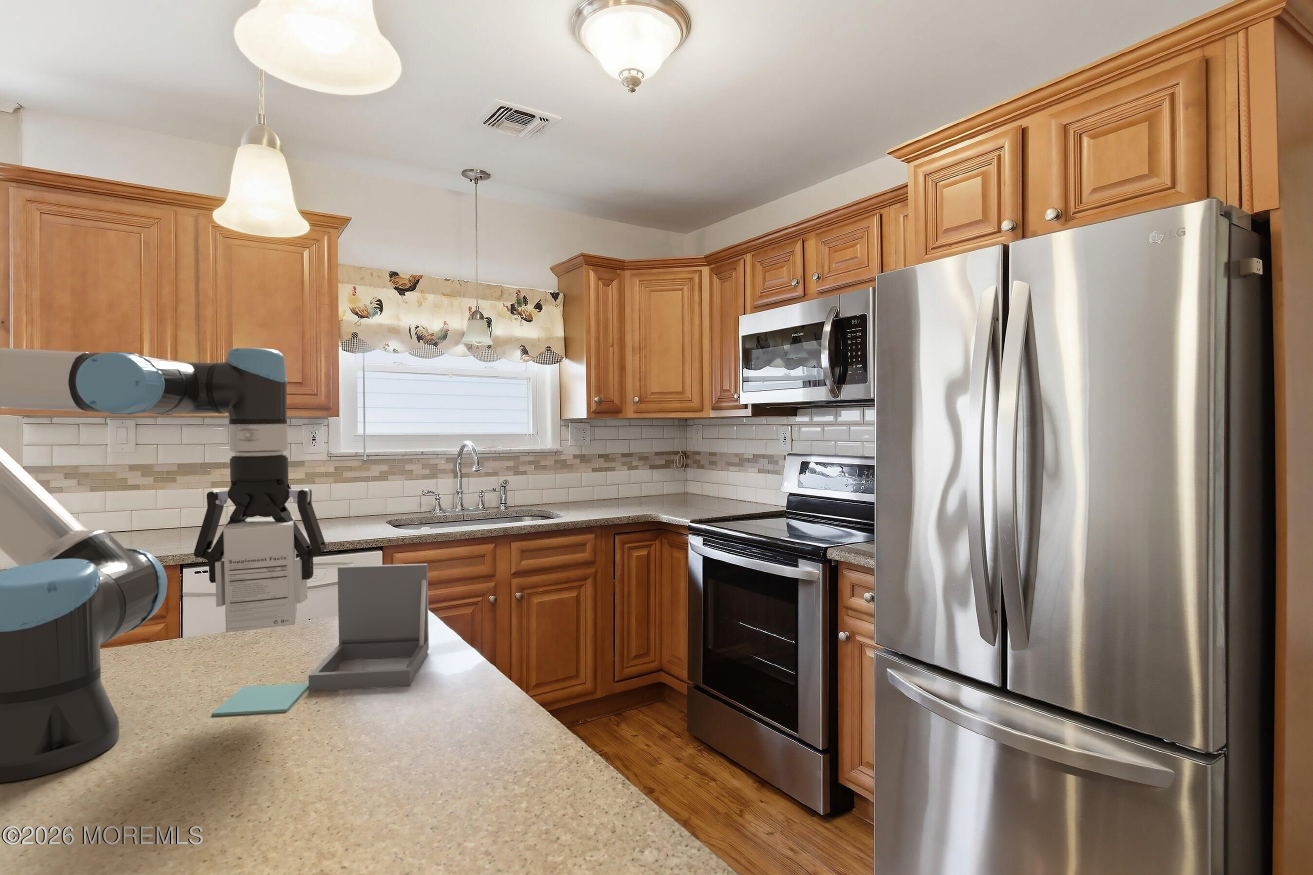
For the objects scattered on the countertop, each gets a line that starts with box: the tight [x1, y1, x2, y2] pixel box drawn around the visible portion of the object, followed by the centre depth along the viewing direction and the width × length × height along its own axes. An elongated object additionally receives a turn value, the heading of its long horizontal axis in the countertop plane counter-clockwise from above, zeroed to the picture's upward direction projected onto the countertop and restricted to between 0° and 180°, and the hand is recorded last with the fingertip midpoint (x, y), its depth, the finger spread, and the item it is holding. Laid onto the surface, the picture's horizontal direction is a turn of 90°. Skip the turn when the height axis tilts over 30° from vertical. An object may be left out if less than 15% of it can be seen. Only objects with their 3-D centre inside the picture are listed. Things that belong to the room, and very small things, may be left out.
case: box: [308, 563, 430, 692], centre depth 117 cm, size 15×16×16 cm
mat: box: [211, 682, 309, 717], centre depth 105 cm, size 10×10×1 cm
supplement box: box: [222, 516, 298, 633], centre depth 105 cm, size 9×9×15 cm
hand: (262, 602), depth 105 cm, fingers closed on supplement box, 10 cm apart
